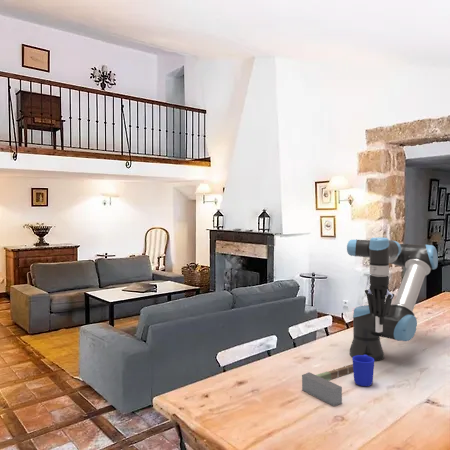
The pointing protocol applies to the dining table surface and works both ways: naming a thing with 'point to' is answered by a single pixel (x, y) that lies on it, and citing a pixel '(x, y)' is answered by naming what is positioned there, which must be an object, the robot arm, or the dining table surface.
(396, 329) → the robot arm
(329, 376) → the brown and green stick
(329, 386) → the grooved grey block
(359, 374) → the mug
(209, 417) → the dining table surface
